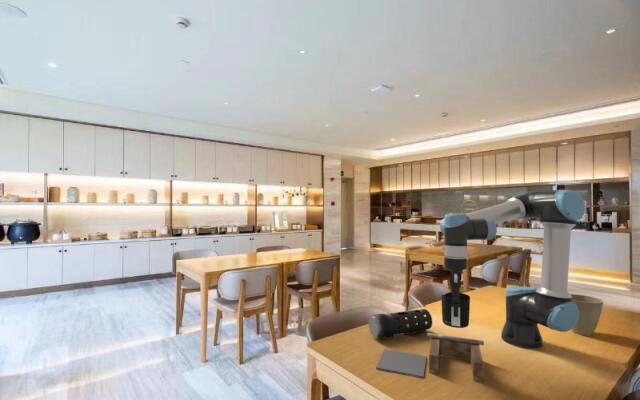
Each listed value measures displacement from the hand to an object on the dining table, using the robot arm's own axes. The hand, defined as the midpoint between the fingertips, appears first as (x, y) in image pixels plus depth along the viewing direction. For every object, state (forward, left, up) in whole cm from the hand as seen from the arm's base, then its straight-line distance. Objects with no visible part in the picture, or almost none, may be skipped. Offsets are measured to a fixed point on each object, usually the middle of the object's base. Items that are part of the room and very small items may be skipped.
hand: (455, 320), depth 116 cm
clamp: (0, -3, -17) cm, 18 cm away
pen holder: (0, 0, -1) cm, 1 cm away
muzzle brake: (+22, -25, -18) cm, 38 cm away
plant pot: (-55, -60, -17) cm, 83 cm away
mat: (+18, +2, -17) cm, 25 cm away
